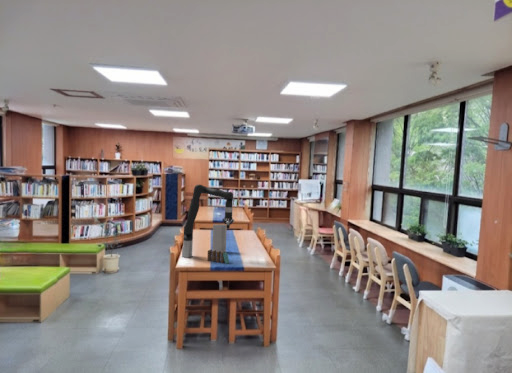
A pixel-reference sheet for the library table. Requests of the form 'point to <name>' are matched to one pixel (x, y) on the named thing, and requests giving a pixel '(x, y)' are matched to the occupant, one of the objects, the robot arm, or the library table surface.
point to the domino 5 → (226, 257)
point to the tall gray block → (219, 238)
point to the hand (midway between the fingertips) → (228, 228)
